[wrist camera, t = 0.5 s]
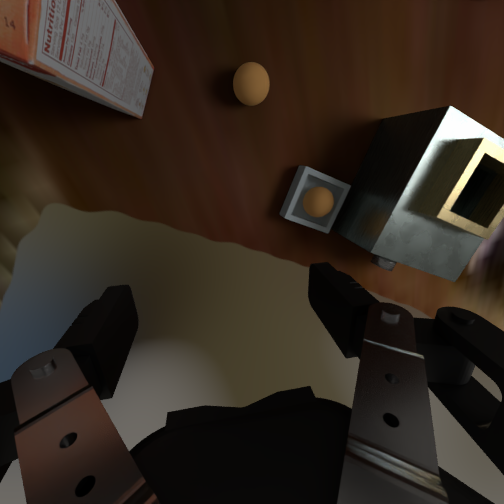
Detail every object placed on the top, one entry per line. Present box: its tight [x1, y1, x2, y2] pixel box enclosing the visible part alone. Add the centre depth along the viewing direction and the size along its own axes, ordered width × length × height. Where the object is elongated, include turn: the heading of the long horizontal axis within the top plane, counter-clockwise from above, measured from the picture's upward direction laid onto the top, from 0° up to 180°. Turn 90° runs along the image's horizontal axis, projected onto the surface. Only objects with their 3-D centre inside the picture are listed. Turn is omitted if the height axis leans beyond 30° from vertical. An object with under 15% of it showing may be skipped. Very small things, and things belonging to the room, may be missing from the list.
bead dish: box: [279, 165, 351, 233], centre depth 35 cm, size 7×7×2 cm
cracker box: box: [0, 0, 154, 119], centre depth 17 cm, size 14×6×21 cm, turn 68°
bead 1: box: [233, 62, 269, 106], centre depth 28 cm, size 4×4×4 cm
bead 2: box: [303, 187, 334, 217], centre depth 34 cm, size 4×4×4 cm
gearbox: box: [331, 106, 504, 282], centre depth 32 cm, size 18×14×12 cm
